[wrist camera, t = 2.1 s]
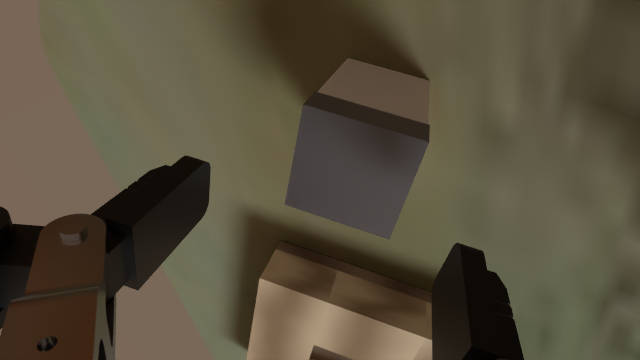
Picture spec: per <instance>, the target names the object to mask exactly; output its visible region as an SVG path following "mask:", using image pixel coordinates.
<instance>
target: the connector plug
mask: <svg viewBox="0 0 640 360" xmlns="http://www.w3.org/2000/svg"><path fill="white" fill-rule="evenodd" d="M429 89H430V81H429V80H426V79H422V78H419V77H415V76H412V75H408V74H404V73H401V72H397V71H394V70H390V69H387V68H383V67H379V66H376V65H372V64H369V63H365V62H361V61H358V60H354V59H351V58H347V59H346V61H345V62H344V63H343V64H342V65H341V66H340V67H339V68H338V69H337V71H336V72H335V73H334V74H333V75H332V76H331V77H330V78H329V79H328V81H327V82H326V83H325V84H324V85H323V86H322V87H321V88H320V89H319V90H318V92H316V91H315V92H314V93H313V94H312V96H311V97H310V98H309V99H308V100H307V101H306V102H305V103H304V104H303V109H302V114H301V119H300V125H299V130H298V136H297V141H296V146H295V152H294V157H293V163H292V168H291V173H290V179H289V184H288V190H287V195H286V200H285V205H288V206H291V207H293V208H296V209H299V210H302V211H305V212H308V213H311V214H314V215H317V216H320V217H323V218H326V219H329V220H332V221H335V222H338V223H341V224H344V225H347V226H350V227H353V228H356V229H359V230H362V231H365V232H368V233H371V234H374V235H377V236H380V237H383V238H386V239H390V236H391V234H392V231H393V229H394V226H395V224H396V222H397V219H398V217H399V214H400V212H401V209H402V207H403V204H404V202H405V200H406V197H407V195H408V192H409V190H410V187H411V185H412V183H413V180H414V178H415V175H416V173H417V170H418V168H419V165H420V163H421V161H422V158H423V156H424V153H425V151H426V148H427V146H428V143H429V130H430V125H428V112H429Z"/></svg>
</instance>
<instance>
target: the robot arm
mask: <svg viewBox="0 0 640 360" xmlns="http://www.w3.org/2000/svg"><path fill="white" fill-rule="evenodd" d="M209 188H210V164H209V163H208V162H206V161H202V160H199V159H196V158H193V157H190V156H184V157H182V158H181V159H180V160H178V161H177V162H176V163H174V164H173V165H172V166H167V165H164V166H162V167H159V168H156V169H153V170H150V171H149V172H147V173H146V174H145V175H143V176H142V177H141V178H139V179H138V181H135V182H134V183H132V184H131V185H130V186H128V189H124V190H123V191H122V192H120V193H119V194H118V195H116V196H115V197H114V198H112V199H111V200H110V201H108V202H107V203H106V204H104V205H103V206H102V207H100V208H99V209H97V210H96V211H95V212H93V213H92V214H91V215H89V214H72V215H67V216H63V217H60V218H58V219H56V220H54V221H52V222H50V223H49V224H47V225H46V226H34V225H33V226H32V225H21V224H12V221H11V218H10V215H9V213H8V211H7V210H6V209H4V208H2V207H0V329H1V328H2V331H1V335H0V360H115V334H116V293H117V292H118V291H119V289H120V288H121V287H122V286H123V285H125V286H128V287H130V288H133V289H136V290H139V289H140V288H141V286H142V285H143V284H144V283H145V282H146V281H147V280H148V279H149V277H150V276H151V275H152V274H153V273H154V272H155V271H156V270H157V268H158V267H159V266H160V265H161V264H162V263H163V262H164V261H165V259H166V258H167V257H168V256H169V255H170V254H171V253H172V252H173V250H174V249H175V248H176V247H177V246H178V245H179V244H180V242H181V241H182V240H183V239H184V238H185V237H186V236H187V235H188V233H189V232H190V231H191V230H192V229H193V228H194V227H195V226H196V224H197V223H198V222H199V221H200V220H201V219H202V217H203V216H204V214H205V212H206V210H207V207H208V203H209ZM431 303H432V360H524V357H523V353H522V349H521V345H520V341H519V337H518V333H517V329H516V325H515V321H514V319H513V313H512V309H511V307H510V301H509V297H508V293H507V288H506V287H505V285H504V284H503V283H502V281H501V280H500V278H499V277H498V275H497V274H496V273H495V272H491V271H488V270H487V267H486V261H485V256H484V253H483V251H481V250H478V249H475V248H472V247H469V246H466V245H463V244H460V243H456V244H455V245H454V246H453V247H452V249H451V251H450V253H449V255H448V257H447V258H446V260H445V262H444V264H443V266H442V268H441V269H440V271H439V273H438V275H437V277H436V279H435V282H434V285H433V289H432V296H431Z"/></svg>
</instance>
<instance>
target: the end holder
mask: <svg viewBox="0 0 640 360" xmlns="http://www.w3.org/2000/svg"><path fill="white" fill-rule="evenodd" d="M431 296H432V292H429V291H426V290H423V289H420V288H417V287H414V286H411V285H408V284H405V283H403V282H400V281H397V280H394V279H391V278H388V277H385V276H382V275H379V274H377V273H374V272H371V271H368V270H365V269H362V268H359V267H356V266H353V265H351V264H348V263H345V262H342V261H339V260H336V259H333V258H330V257H327V256H325V255H322V254H319V253H316V252H313V251H310V250H307V249H304V248H301V247H298V246H296V245H293V244H290V243H287V242H284V241H280V242H279V244H278V246H277V248H276V250H275V251H274V253H273V255H272V257H271V259H270V260H269V262H268V264H267V266H266V268H265V269H264V271H263V273H262V275H261V277H260V279H259V285H258V292H257V298H256V304H255V310H254V316H253V323H252V329H251V335H250V341H249V347H248V354H247V360H432V303H431Z"/></svg>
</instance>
